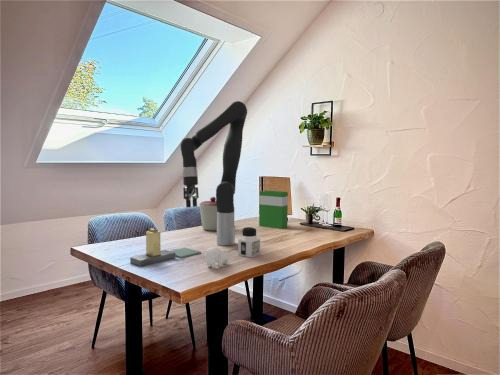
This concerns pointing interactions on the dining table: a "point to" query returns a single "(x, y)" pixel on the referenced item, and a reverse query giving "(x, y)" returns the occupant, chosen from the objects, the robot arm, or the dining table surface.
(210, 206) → the canister
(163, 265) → the dining table surface
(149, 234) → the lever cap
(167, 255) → the plane body
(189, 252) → the mat
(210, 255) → the white humped figurine
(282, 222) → the green cereal box
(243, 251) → the container
